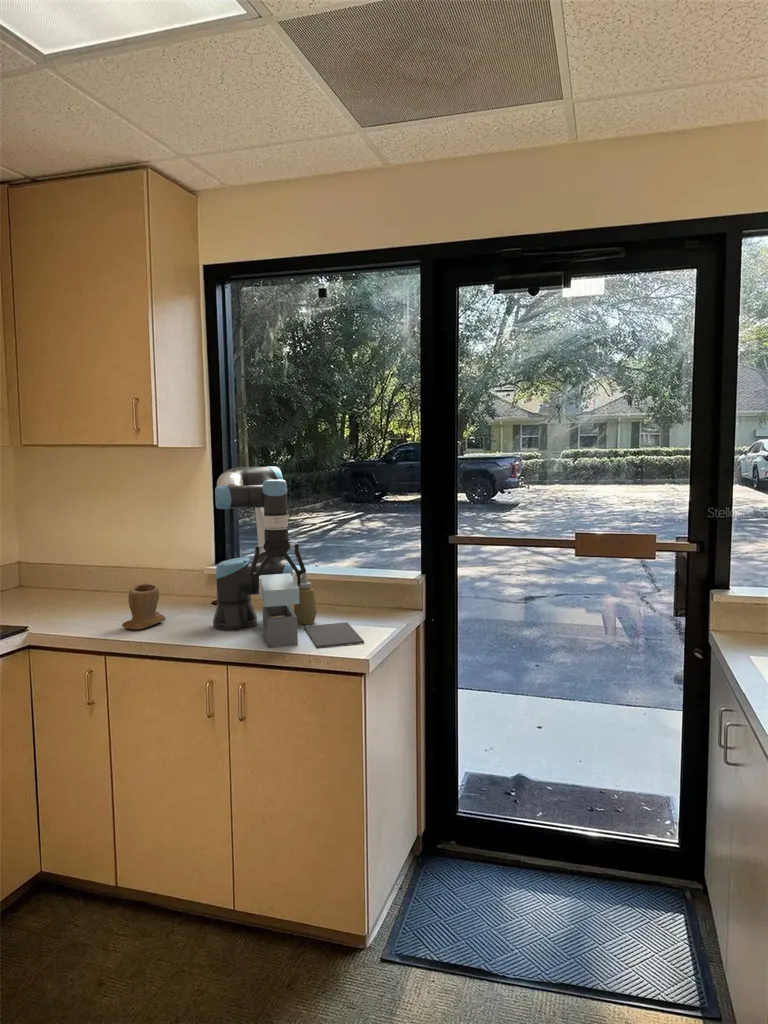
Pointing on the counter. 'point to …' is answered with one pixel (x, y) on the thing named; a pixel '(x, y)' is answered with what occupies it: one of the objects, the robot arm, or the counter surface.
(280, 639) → the storage box
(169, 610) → the counter surface
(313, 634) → the mat
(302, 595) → the squeeze bottle
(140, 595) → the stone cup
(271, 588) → the block
